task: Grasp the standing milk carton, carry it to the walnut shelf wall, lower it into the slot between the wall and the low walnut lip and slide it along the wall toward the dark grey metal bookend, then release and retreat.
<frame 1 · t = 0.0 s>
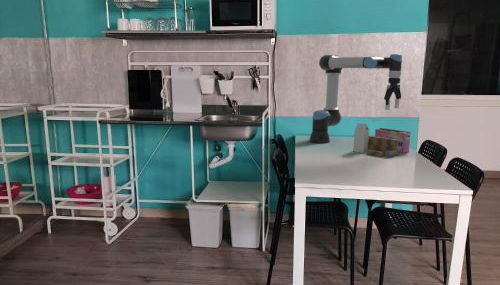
hand: (391, 109, 268), 28 cm above the table, fingers open, 13 cm apart
milk carton: (360, 151, 264), on the table
gum box: (391, 150, 272), on the table
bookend: (390, 156, 251), on the table
walnut shelf: (379, 152, 262), on the table
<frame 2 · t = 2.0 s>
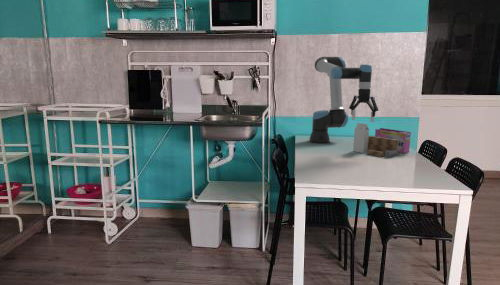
hand: (362, 120, 260), 21 cm above the table, fingers open, 13 cm apart
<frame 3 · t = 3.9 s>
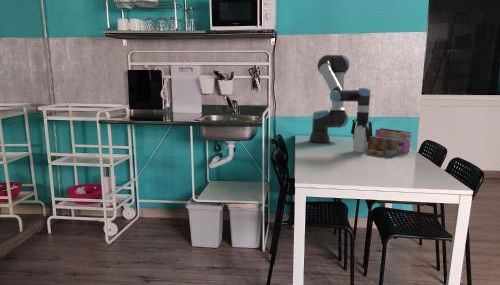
hand: (360, 145, 264), 4 cm above the table, fingers closed on milk carton, 7 cm apart
milk carton: (360, 151, 264), on the table, touching gripper
everything else where it was.
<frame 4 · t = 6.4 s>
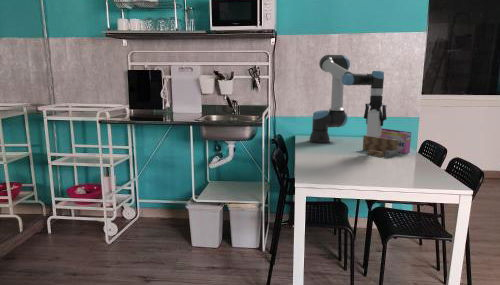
hand: (374, 130, 257), 15 cm above the table, fingers closed on milk carton, 7 cm apart
milk carton: (373, 136, 257), point 11 cm above the table, touching gripper
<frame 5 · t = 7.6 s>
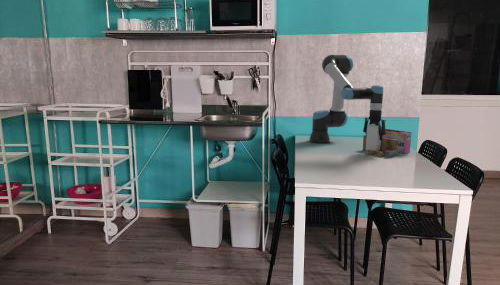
hand: (373, 144, 258), 6 cm above the table, fingers closed on milk carton, 7 cm apart
milk carton: (372, 150, 259), point 2 cm above the table, touching gripper
when the fingers open (6 cm above the table, at t = 8.7 s): milk carton drops 2 cm, on the table.
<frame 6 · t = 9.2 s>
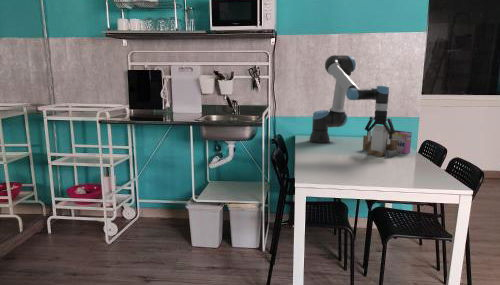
hand: (378, 142, 256), 8 cm above the table, fingers open, 13 cm apart
milk carton: (377, 154, 257), on the table
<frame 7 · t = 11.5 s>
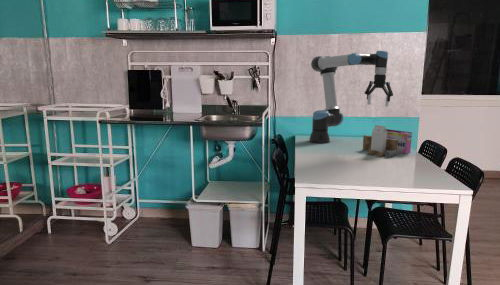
hand: (377, 105, 269), 30 cm above the table, fingers open, 13 cm apart
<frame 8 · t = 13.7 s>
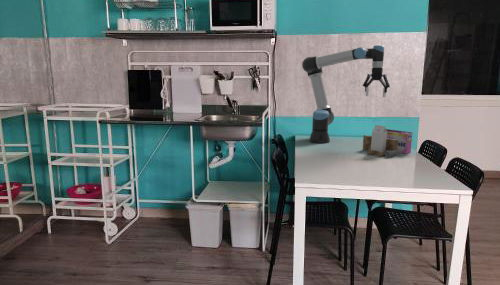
hand: (375, 96, 288), 35 cm above the table, fingers open, 13 cm apart
at the end: milk carton inside the target area (1.0 cm from its centre), on the table; milk carton tilted 0°; the gripper is holding nothing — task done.
